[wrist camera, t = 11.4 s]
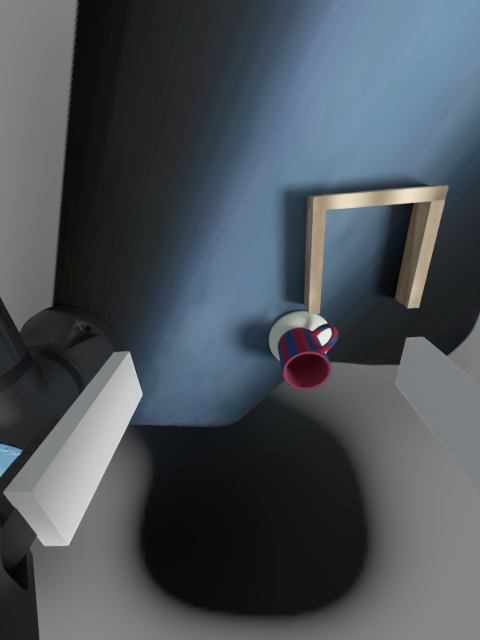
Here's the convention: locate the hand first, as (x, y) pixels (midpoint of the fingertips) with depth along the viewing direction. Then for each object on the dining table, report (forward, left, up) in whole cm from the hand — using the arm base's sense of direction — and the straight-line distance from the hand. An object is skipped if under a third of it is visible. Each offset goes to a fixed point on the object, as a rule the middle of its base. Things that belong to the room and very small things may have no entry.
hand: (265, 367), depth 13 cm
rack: (+15, -1, -27) cm, 31 cm away
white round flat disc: (+7, -15, -27) cm, 31 cm away
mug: (+8, -14, -26) cm, 31 cm away
